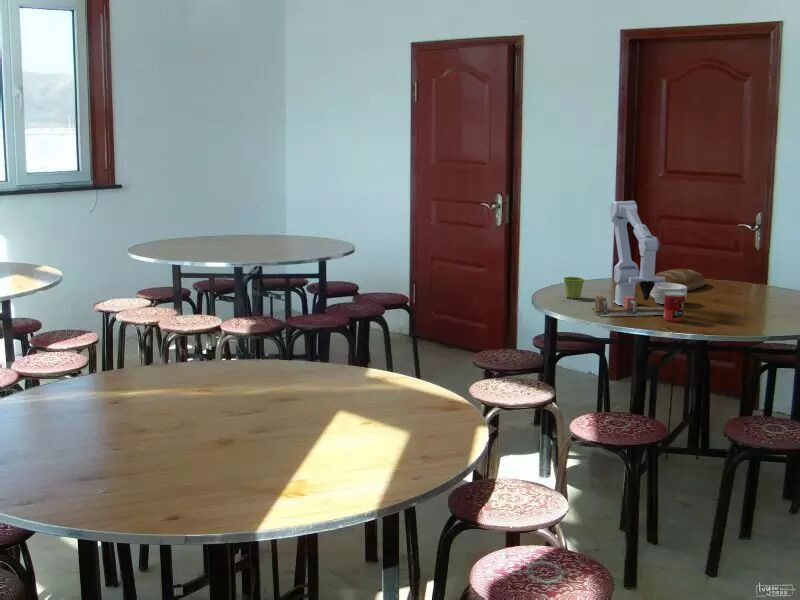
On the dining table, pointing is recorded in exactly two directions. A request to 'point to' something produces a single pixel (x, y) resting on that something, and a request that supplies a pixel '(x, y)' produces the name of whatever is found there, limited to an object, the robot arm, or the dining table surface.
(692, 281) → the bread
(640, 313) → the hole plate
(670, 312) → the canned food
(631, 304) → the sliding leg
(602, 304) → the gauge beam
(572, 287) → the plant pot
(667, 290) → the paper bowls
